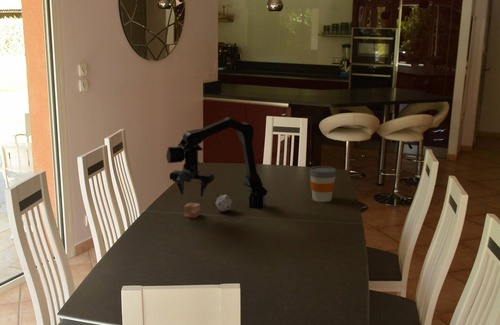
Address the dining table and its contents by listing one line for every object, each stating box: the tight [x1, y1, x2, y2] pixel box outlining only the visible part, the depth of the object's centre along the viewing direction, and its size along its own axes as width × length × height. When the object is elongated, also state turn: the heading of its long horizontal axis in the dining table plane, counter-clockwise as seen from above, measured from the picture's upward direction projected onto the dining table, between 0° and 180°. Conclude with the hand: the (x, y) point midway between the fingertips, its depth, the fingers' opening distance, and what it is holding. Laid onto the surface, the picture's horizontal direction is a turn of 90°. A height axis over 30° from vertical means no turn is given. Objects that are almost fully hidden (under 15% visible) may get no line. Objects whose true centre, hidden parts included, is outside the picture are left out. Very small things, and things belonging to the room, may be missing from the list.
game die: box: [212, 192, 235, 214], centre depth 247 cm, size 9×8×10 cm
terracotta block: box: [183, 202, 201, 219], centre depth 242 cm, size 5×5×5 cm
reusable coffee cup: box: [309, 165, 337, 203], centre depth 265 cm, size 13×13×15 cm
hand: (192, 195), depth 240 cm, fingers open, 9 cm apart
